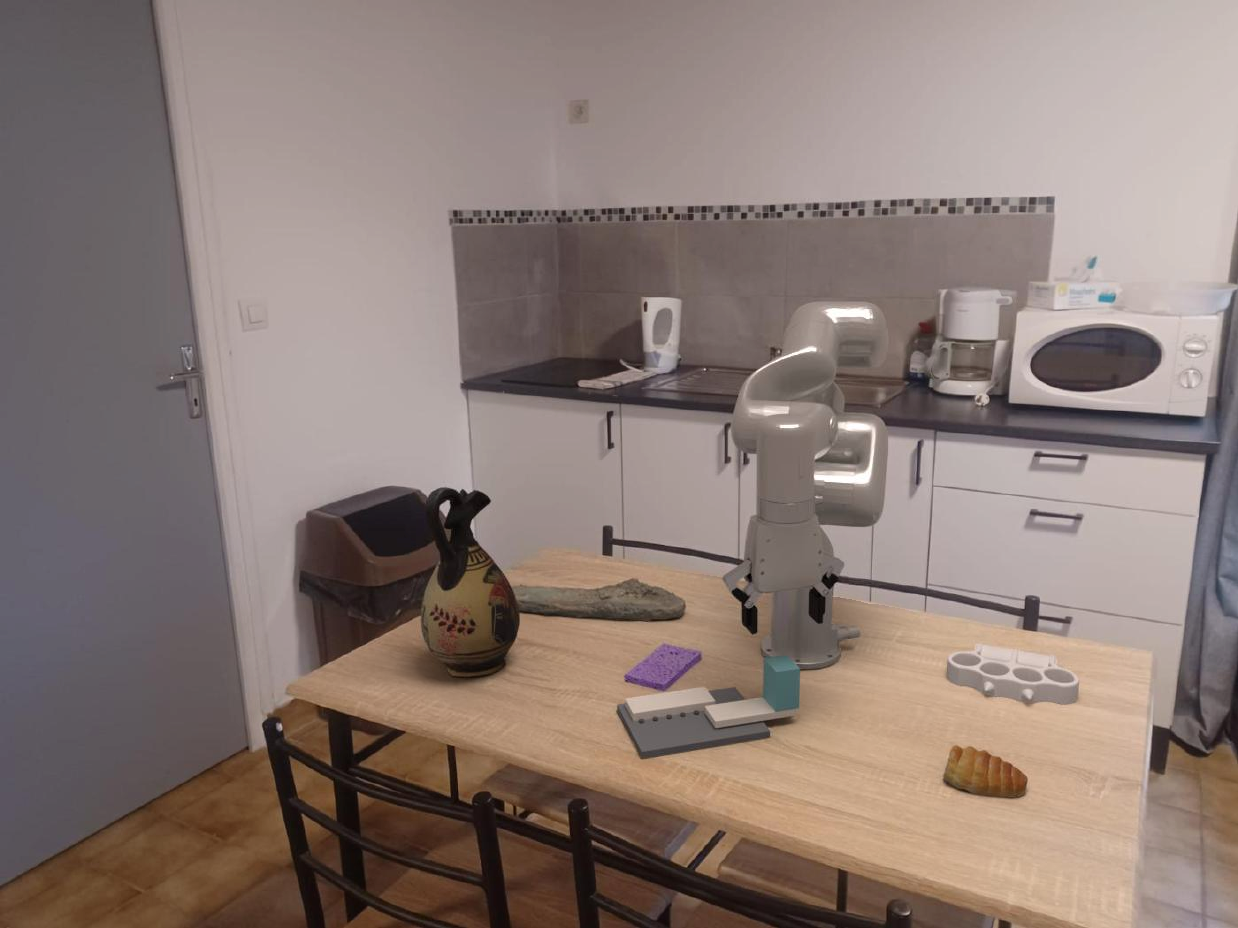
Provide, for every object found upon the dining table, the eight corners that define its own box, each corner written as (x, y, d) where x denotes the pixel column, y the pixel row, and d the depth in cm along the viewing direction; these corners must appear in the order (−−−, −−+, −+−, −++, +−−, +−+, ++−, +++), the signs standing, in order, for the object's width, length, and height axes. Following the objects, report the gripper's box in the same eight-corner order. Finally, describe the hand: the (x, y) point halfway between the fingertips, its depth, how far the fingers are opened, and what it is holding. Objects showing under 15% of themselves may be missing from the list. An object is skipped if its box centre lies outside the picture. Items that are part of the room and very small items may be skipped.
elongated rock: (509, 600, 179) (491, 624, 170) (505, 575, 178) (488, 598, 168) (690, 602, 171) (682, 627, 162) (688, 575, 170) (680, 599, 160)
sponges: (702, 661, 150) (702, 650, 149) (664, 695, 139) (664, 683, 139) (663, 652, 153) (663, 641, 153) (624, 684, 143) (623, 673, 142)
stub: (785, 699, 133) (786, 654, 132) (799, 714, 129) (800, 668, 127) (704, 712, 130) (704, 666, 129) (715, 728, 126) (715, 680, 125)
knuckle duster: (1078, 674, 142) (1075, 719, 130) (954, 653, 150) (940, 693, 138) (1081, 654, 141) (1078, 697, 129) (956, 633, 149) (941, 672, 137)
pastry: (1029, 779, 116) (1031, 752, 115) (1022, 809, 110) (1025, 781, 109) (949, 760, 120) (951, 734, 119) (940, 788, 114) (941, 761, 113)
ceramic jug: (470, 636, 160) (459, 467, 152) (541, 657, 151) (532, 479, 144) (396, 676, 146) (379, 492, 139) (468, 701, 138) (455, 507, 130)
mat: (734, 692, 138) (735, 686, 138) (770, 737, 126) (770, 730, 126) (617, 710, 134) (617, 704, 134) (642, 758, 122) (641, 751, 122)
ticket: (704, 694, 136) (704, 686, 136) (717, 711, 131) (717, 703, 131) (625, 706, 133) (625, 698, 133) (635, 724, 128) (635, 716, 128)
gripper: (831, 491, 129) (828, 604, 134) (713, 506, 125) (714, 622, 130) (858, 508, 122) (853, 627, 127) (734, 525, 118) (734, 646, 123)
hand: (783, 624), depth 129 cm, fingers open, 9 cm apart
